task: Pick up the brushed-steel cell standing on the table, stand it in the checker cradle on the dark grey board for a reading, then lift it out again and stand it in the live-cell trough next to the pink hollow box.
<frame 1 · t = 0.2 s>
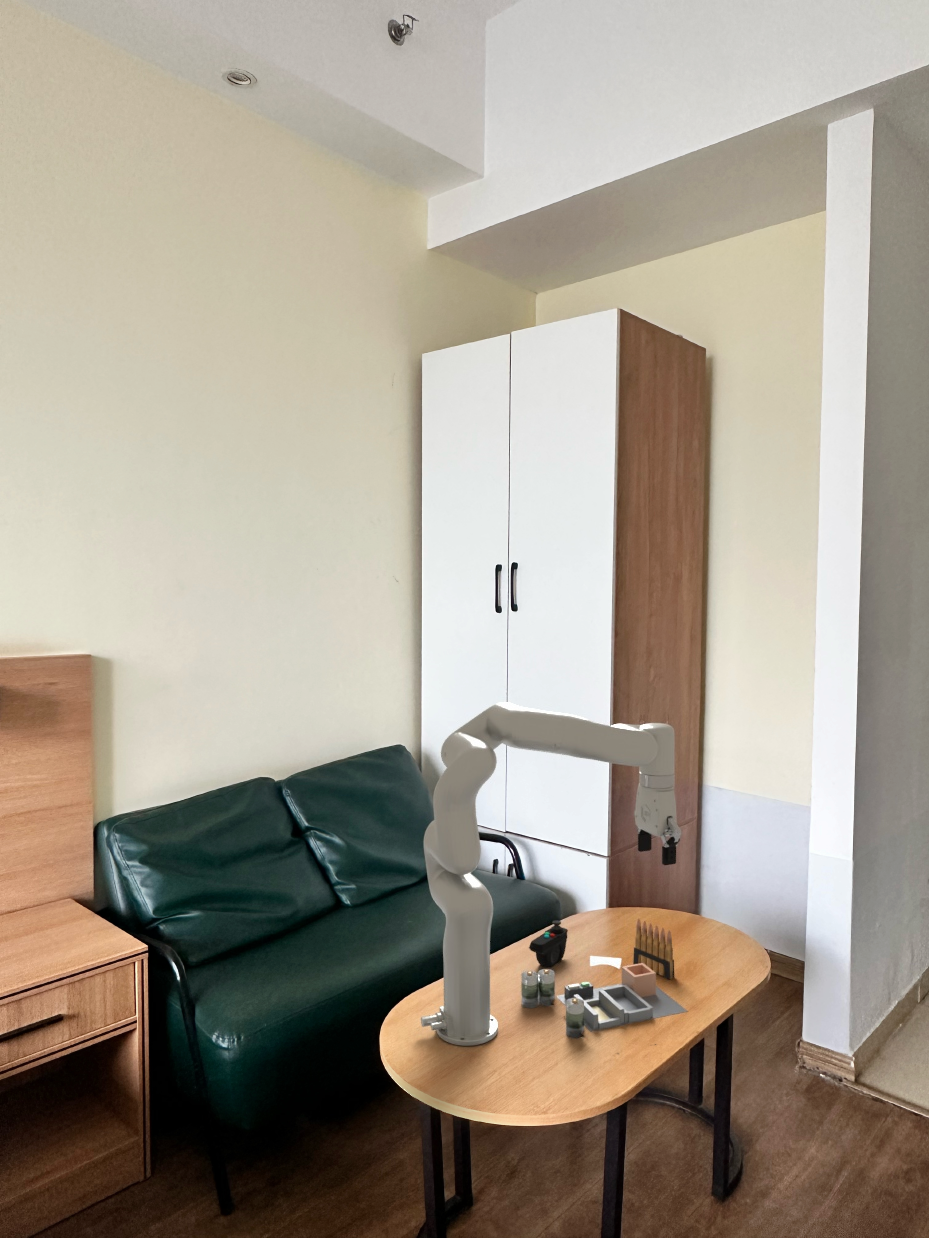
hand: (656, 857, 195), 31 cm above the table, fingers open, 9 cm apart
pink hollow box: (638, 990, 196), resting on board
cell b: (546, 1002, 193), on the table
cell c: (529, 1004, 192), on the table
board: (620, 1007, 190), on the table
controller: (549, 968, 210), on the table
cell a: (575, 1033, 180), on the table
external hard drive: (604, 975, 207), on the table
ammunition clip: (653, 975, 206), on the table
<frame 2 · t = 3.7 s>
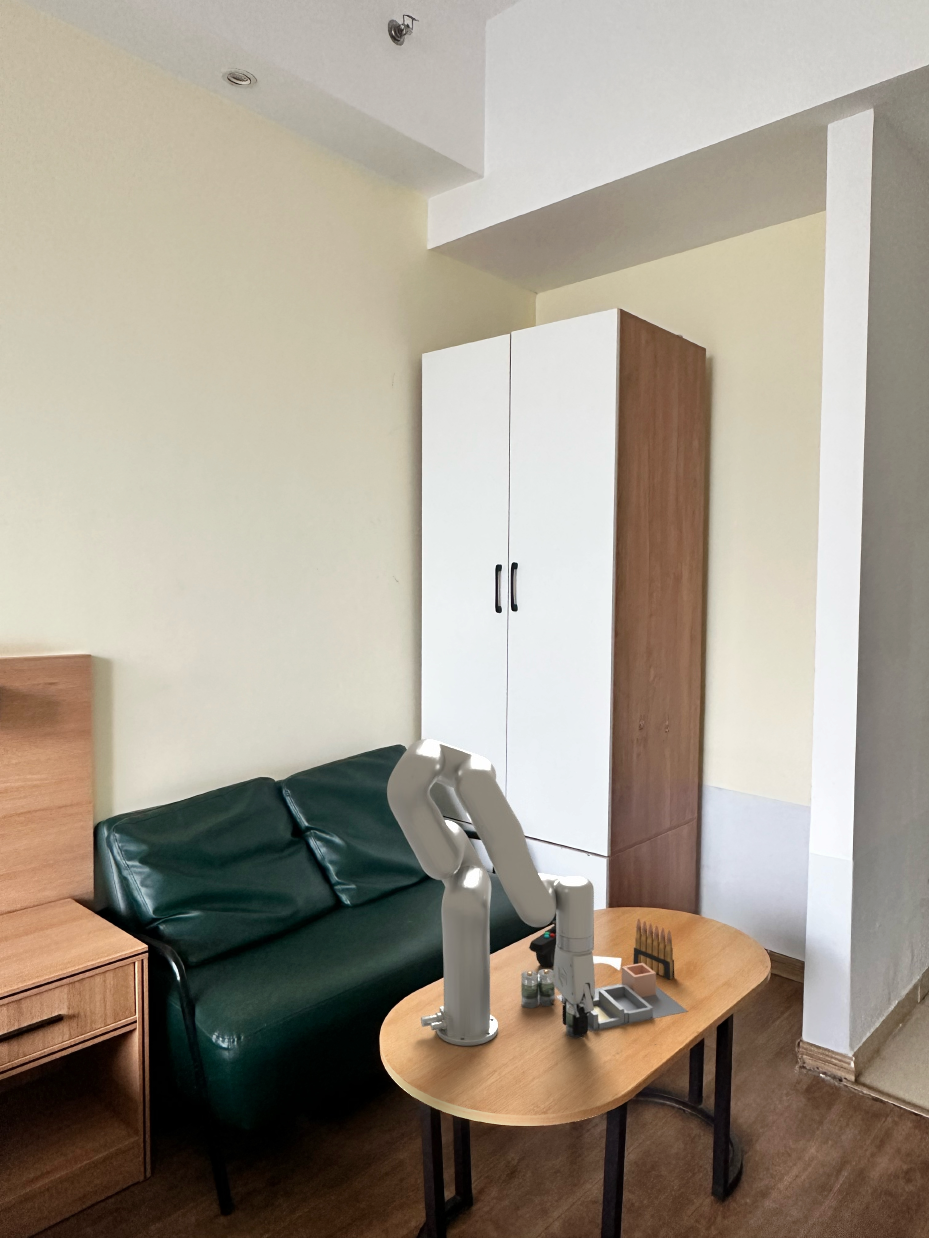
hand: (575, 1027, 180), 1 cm above the table, fingers closed on cell a, 3 cm apart
cell a: (575, 1033, 180), on the table, touching gripper
everything else where it was.
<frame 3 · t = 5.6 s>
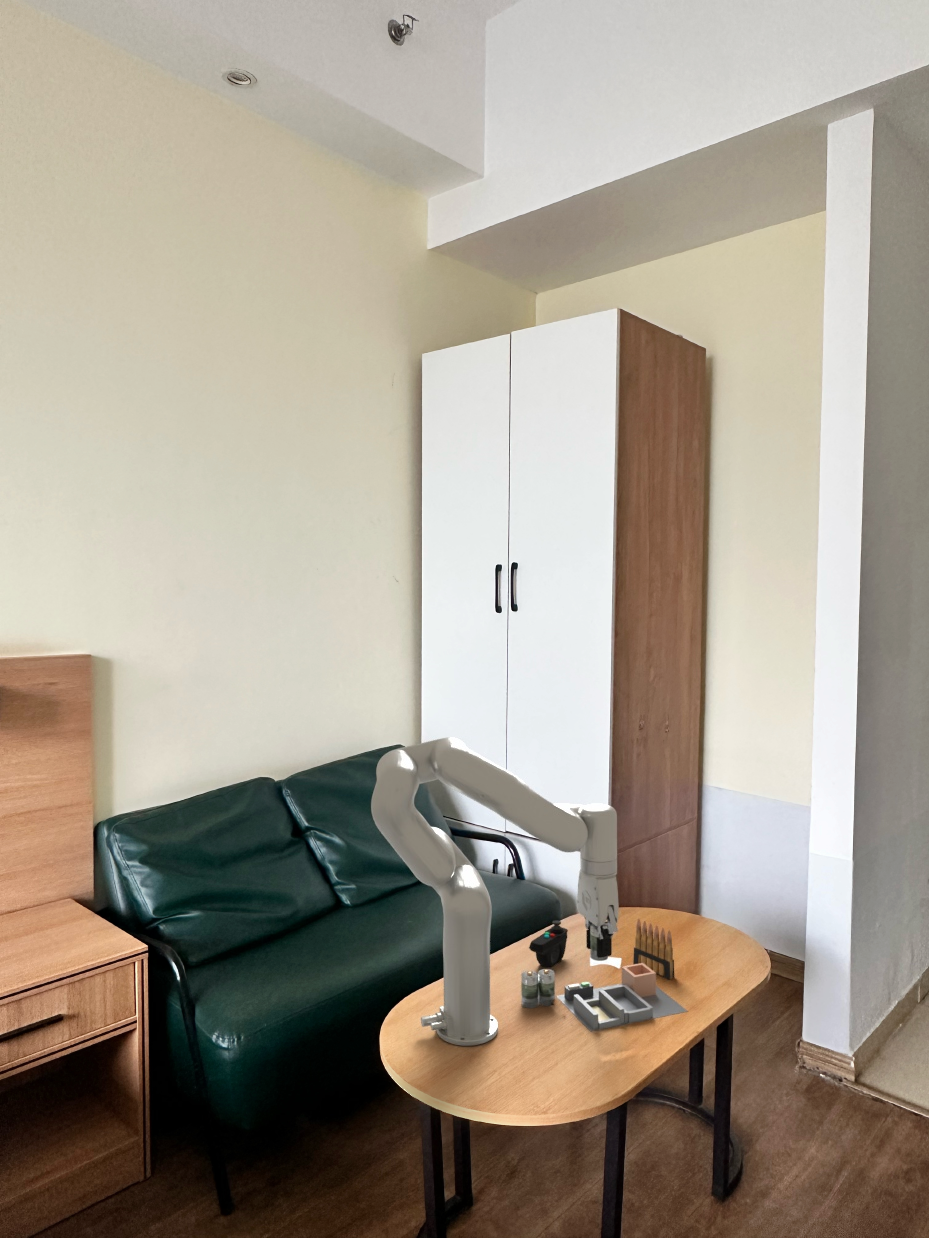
hand: (598, 950, 184), 15 cm above the table, fingers closed on cell a, 3 cm apart
cell a: (599, 956, 184), point 14 cm above the table, touching gripper
everything else where it was.
when the fingers open (4 cm above the table, at t = 7.8 s): cell a drops 1 cm, resting on board.
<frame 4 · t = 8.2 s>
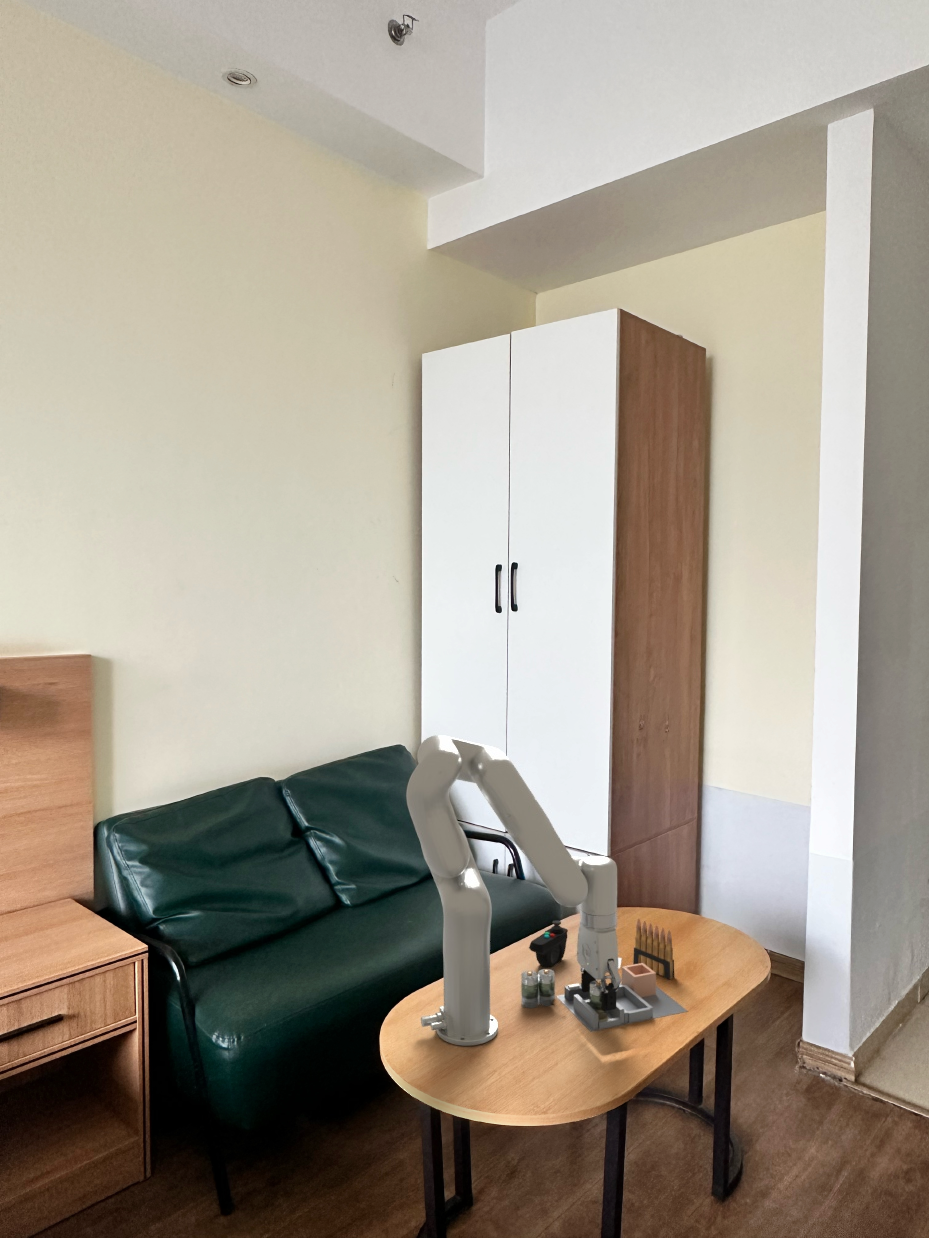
hand: (598, 999, 185), 4 cm above the table, fingers open, 8 cm apart
cell a: (598, 1015, 185), point 1 cm above the table, touching board
everything else where it was.
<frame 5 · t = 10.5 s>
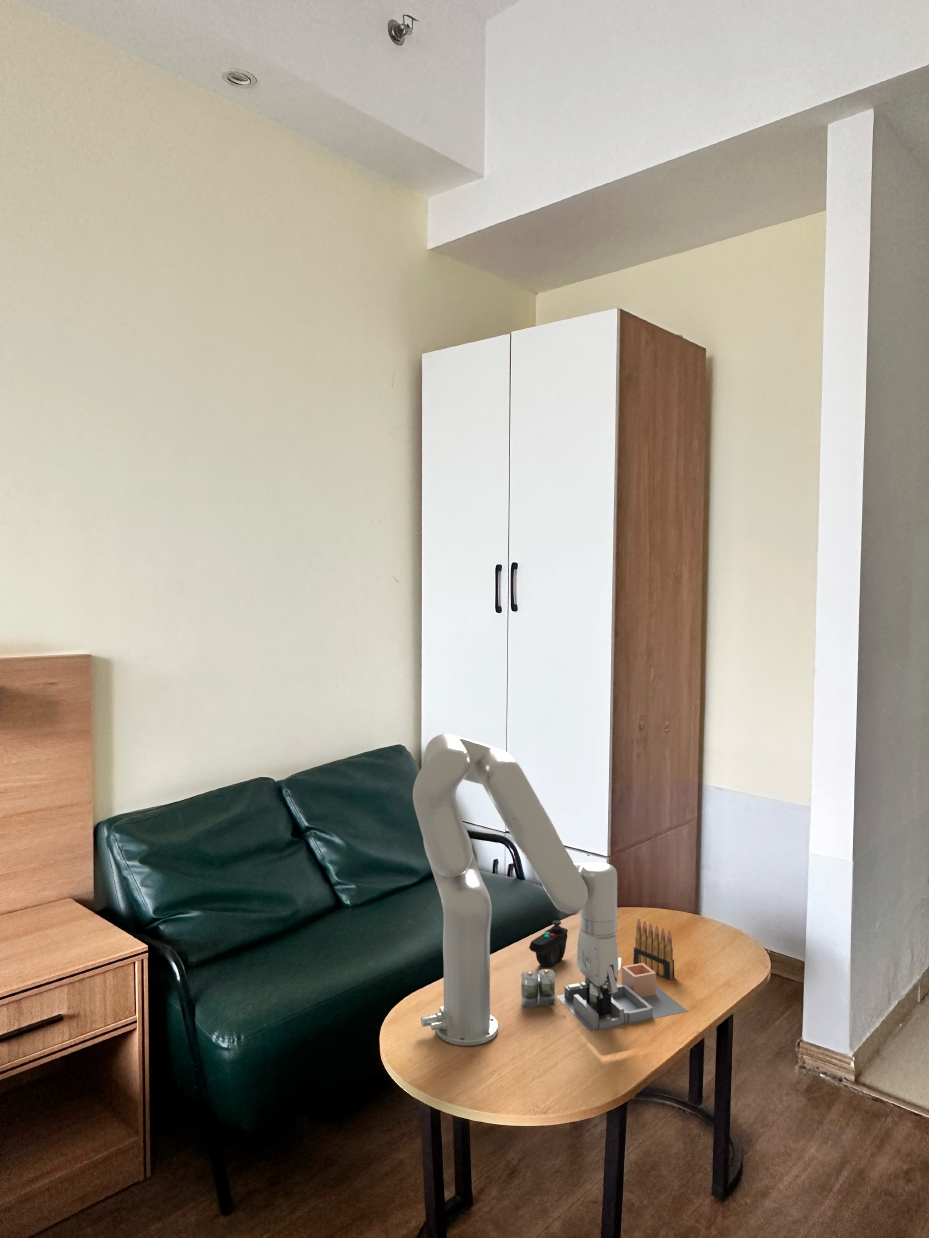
hand: (598, 1008, 185), 2 cm above the table, fingers closed on cell a, 3 cm apart
cell a: (598, 1014, 185), point 1 cm above the table, touching board, gripper
everything else where it was.
when the fingers open (4 cm above the table, at t = 14.7 s): cell a drops 1 cm, resting on board.
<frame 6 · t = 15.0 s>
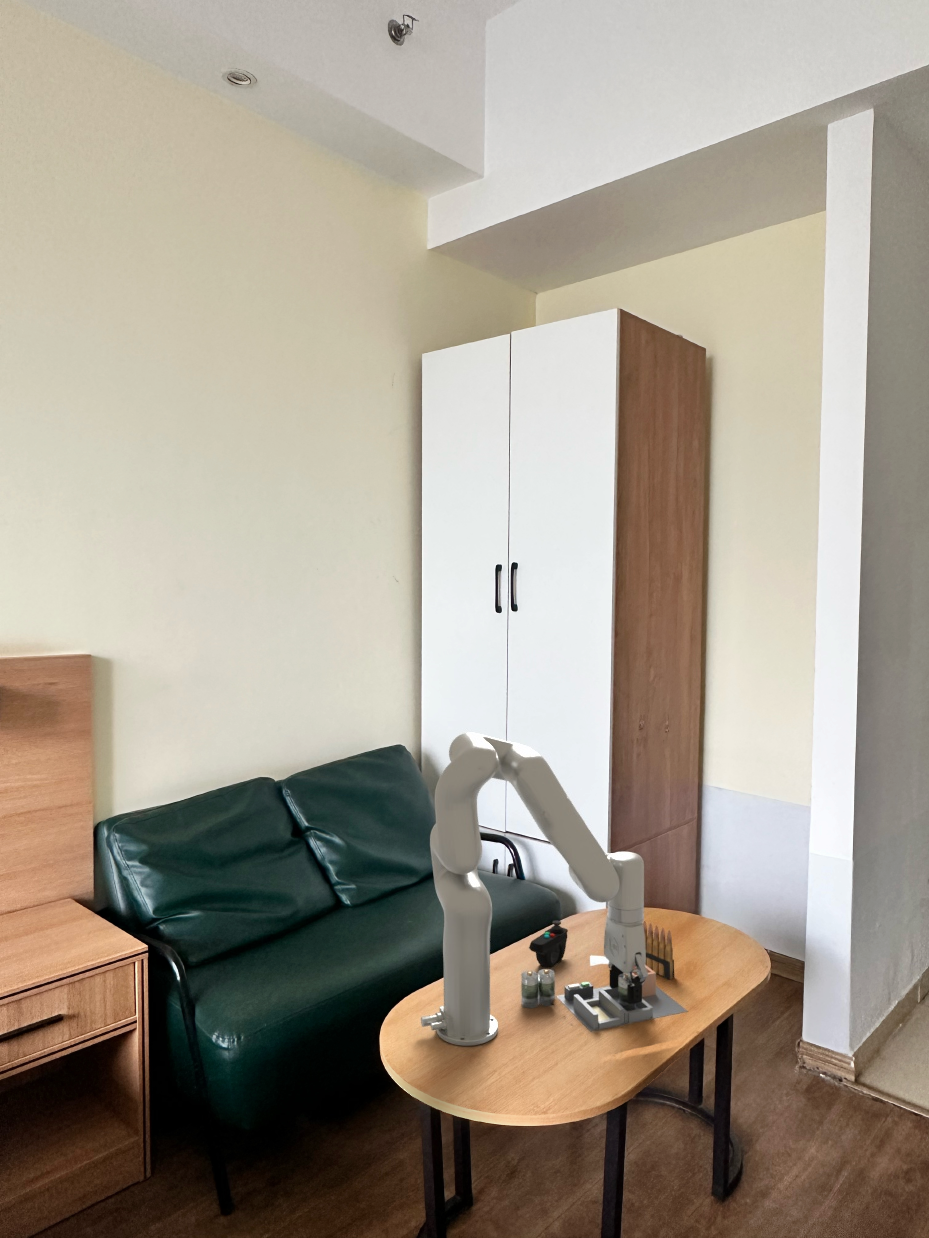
hand: (625, 993, 188), 4 cm above the table, fingers open, 6 cm apart
cell a: (626, 1007, 188), point 1 cm above the table, touching board
everything else where it was.
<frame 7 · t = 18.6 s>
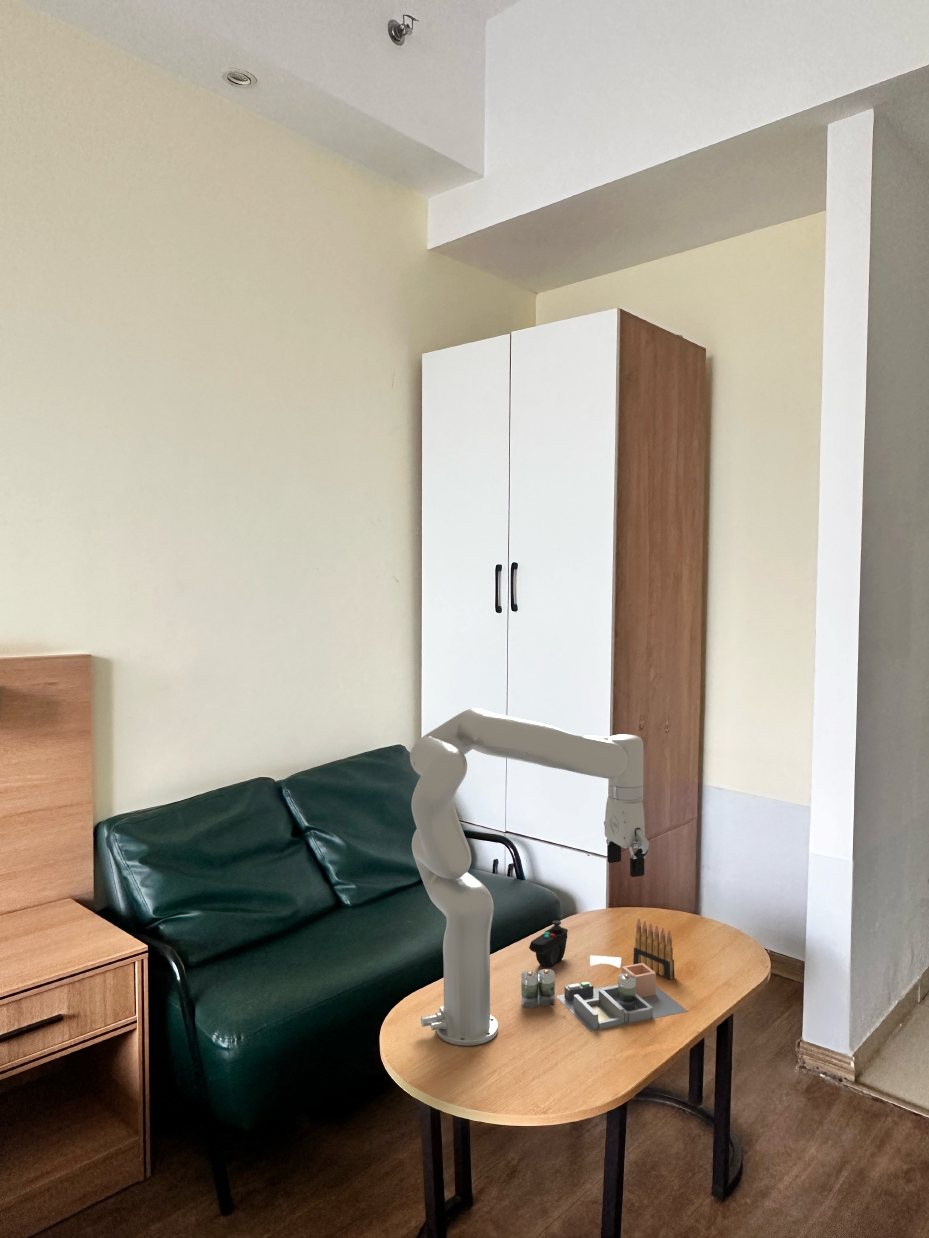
hand: (625, 868, 195), 28 cm above the table, fingers open, 9 cm apart
nothing on the table moved.
at the end: cell a inside the target area on the board (0.3 cm from its centre), point 1.0 cm above the board's base; cell a tilted 1°; the gripper is holding nothing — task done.
